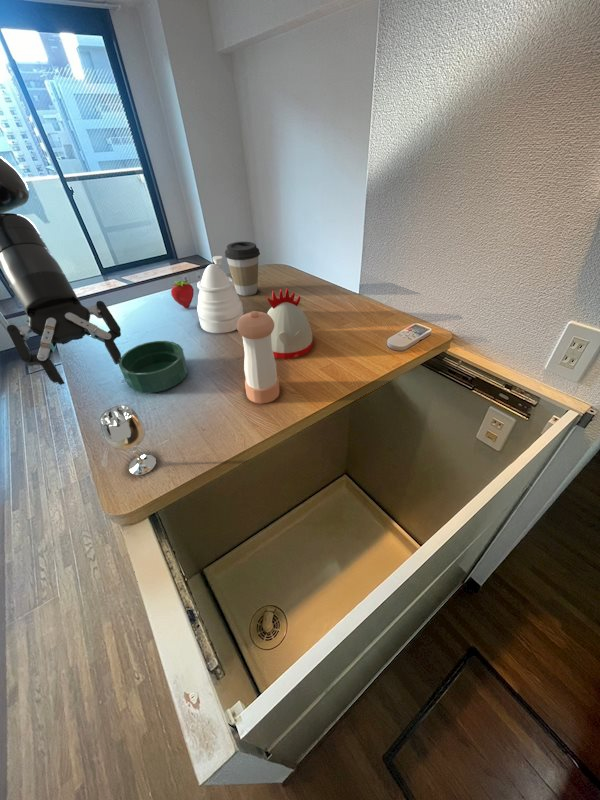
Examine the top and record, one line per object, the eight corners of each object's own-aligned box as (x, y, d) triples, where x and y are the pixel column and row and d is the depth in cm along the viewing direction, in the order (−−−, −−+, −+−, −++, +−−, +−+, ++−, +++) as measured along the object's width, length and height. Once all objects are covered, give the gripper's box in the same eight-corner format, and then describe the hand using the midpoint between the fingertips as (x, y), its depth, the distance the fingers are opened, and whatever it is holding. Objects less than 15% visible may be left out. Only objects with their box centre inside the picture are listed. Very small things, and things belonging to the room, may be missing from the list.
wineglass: (117, 473, 56) (86, 424, 48) (139, 449, 60) (114, 400, 52) (146, 481, 54) (119, 432, 47) (166, 456, 59) (144, 406, 51)
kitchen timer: (256, 334, 91) (250, 281, 81) (304, 328, 93) (304, 275, 83) (265, 362, 80) (259, 305, 71) (318, 354, 83) (320, 297, 73)
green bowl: (118, 395, 71) (108, 375, 68) (139, 360, 82) (132, 341, 78) (180, 394, 72) (173, 374, 68) (194, 359, 82) (189, 340, 78)
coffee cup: (268, 287, 115) (265, 242, 105) (253, 300, 107) (248, 253, 97) (240, 283, 118) (235, 239, 109) (224, 295, 111) (216, 248, 101)
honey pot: (228, 308, 103) (218, 248, 91) (253, 322, 96) (245, 258, 84) (192, 322, 96) (176, 259, 85) (216, 338, 89) (202, 271, 78)
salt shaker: (248, 406, 68) (235, 323, 56) (244, 385, 74) (232, 305, 61) (282, 400, 70) (277, 318, 57) (276, 380, 75) (270, 301, 62)
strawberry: (171, 311, 102) (162, 279, 96) (187, 301, 107) (179, 271, 101) (186, 314, 100) (177, 282, 94) (201, 305, 105) (194, 273, 99)
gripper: (-26, 282, 45) (34, 385, 46) (84, 259, 52) (135, 349, 53) (-6, 306, 52) (46, 395, 53) (90, 282, 59) (134, 362, 60)
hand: (90, 372), depth 53 cm, fingers open, 8 cm apart
